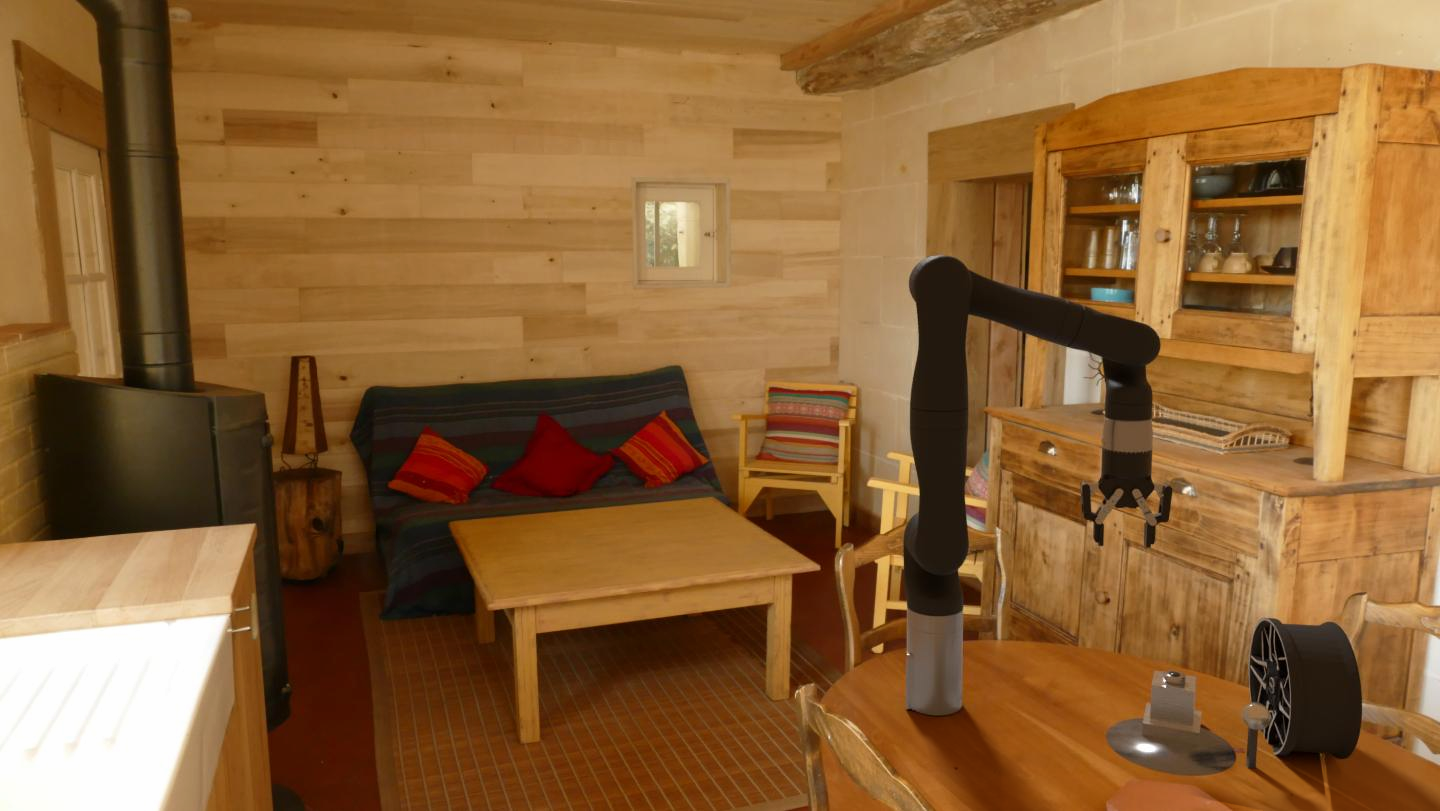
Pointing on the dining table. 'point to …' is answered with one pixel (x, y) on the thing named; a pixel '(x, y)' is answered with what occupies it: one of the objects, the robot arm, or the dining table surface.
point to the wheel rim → (1306, 687)
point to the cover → (1172, 708)
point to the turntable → (1171, 750)
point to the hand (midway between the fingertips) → (1123, 545)
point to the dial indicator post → (1254, 728)
